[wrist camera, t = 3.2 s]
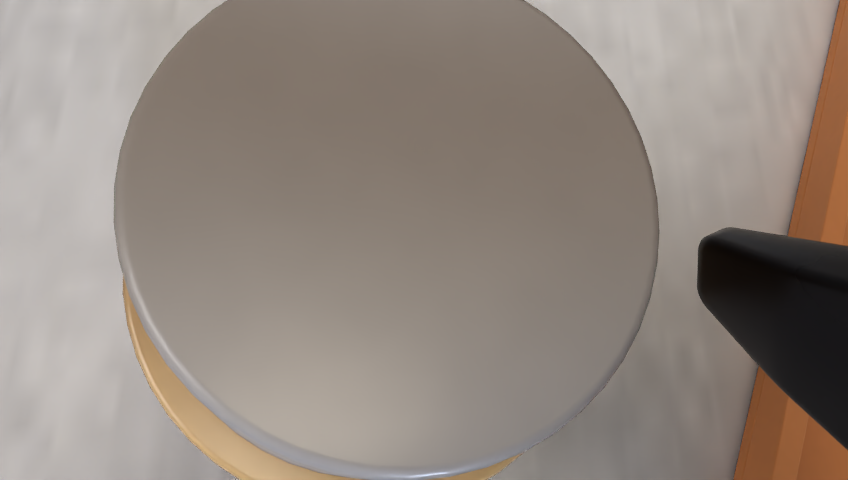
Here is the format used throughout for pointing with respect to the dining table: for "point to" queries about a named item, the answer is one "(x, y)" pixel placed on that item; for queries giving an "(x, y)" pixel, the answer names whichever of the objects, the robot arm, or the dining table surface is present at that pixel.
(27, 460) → the dining table surface
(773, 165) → the dining table surface
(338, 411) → the disc
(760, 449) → the tray
